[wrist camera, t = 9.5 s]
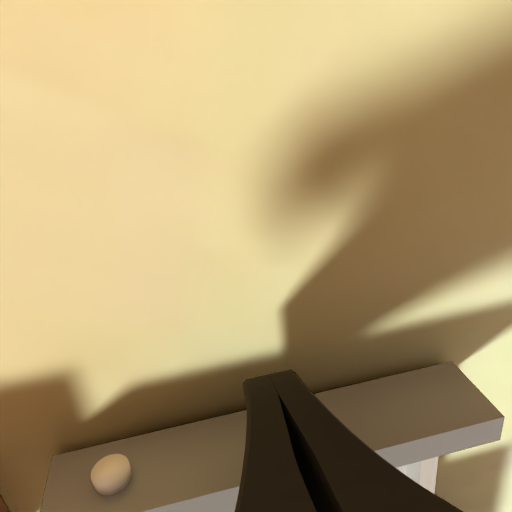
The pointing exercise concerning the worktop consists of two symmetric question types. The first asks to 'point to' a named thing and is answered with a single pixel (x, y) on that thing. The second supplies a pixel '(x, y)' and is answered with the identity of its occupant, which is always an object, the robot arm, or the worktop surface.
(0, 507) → the walnut block
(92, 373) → the worktop surface
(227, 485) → the tray
